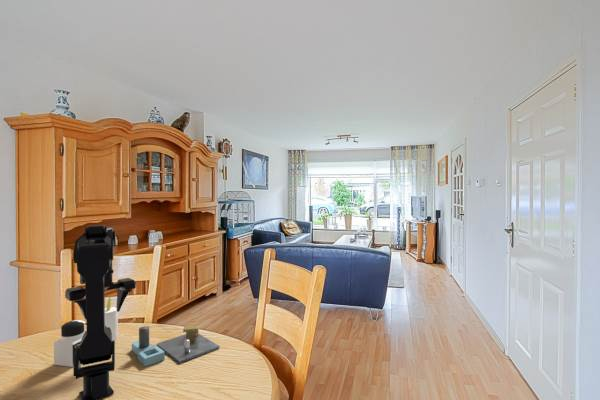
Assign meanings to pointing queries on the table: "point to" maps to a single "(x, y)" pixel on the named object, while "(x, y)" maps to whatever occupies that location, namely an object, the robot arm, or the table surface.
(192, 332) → the base plate
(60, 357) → the medicine bottle
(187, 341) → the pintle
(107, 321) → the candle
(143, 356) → the link
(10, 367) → the table surface
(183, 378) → the table surface
